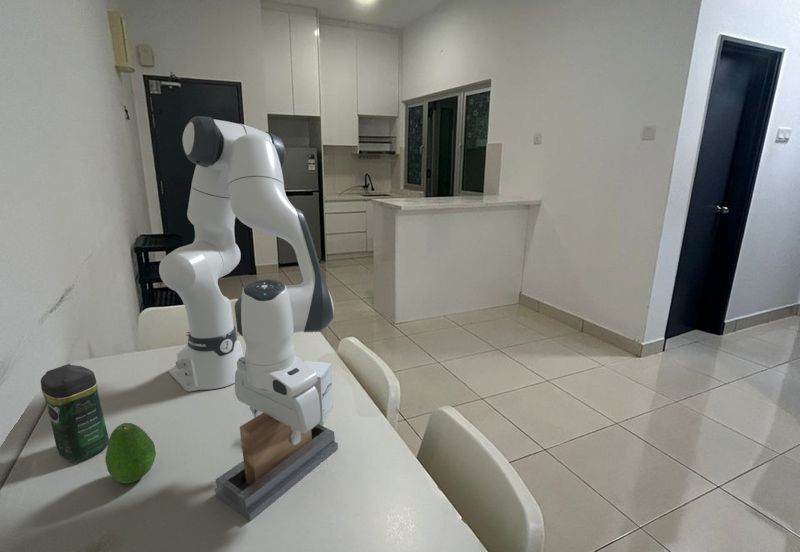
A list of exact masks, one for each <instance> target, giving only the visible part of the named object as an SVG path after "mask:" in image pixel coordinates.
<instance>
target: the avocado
mask: <svg viewBox="0 0 800 552" xmlns="http://www.w3.org/2000/svg"><path fill="white" fill-rule="evenodd" d="M156 454H157V452H156V446H155V443H154V441H153V440H152V438H151V437H150V436H149V435H148V433H147V432H146V431H144V429H142V427H140V426H138V425H136V424H134V423H131V422H124V423H121V424H120V425H118V426H117V427H115V429H114V430H112V432H111V433H110V436H109V443H108V446H107V447H106V453H105V458H104V460H105V465H106V469H107V471H108V473H109V474H110V477H112V479H114V480H115V481H117V482H118V483H123V484H130V483H135V482H136V481H138V480H140V479H142V478H143V477H145V475H146V474H147V473H148V472H150V470H151V468H152V466H154V463H155V459H156Z"/></svg>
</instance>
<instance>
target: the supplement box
mask: <svg viewBox="0 0 800 552" xmlns="http://www.w3.org/2000/svg"><path fill="white" fill-rule="evenodd" d="M302 361H303V362H304V363H305V364H306V365H307V366H308V367H309V368H311V369H312V370H313V371H314V372H315V373H316V374H317V382H316V383H315V384H314V386H315V388H316V389H317V392H318V395H319V403H320V421H319V423H318V424H319V425H321V426H323V425H324V424H325V421H326V420H327V418H328V417H329V415H330V414H331V413H332V410H333V409H334V398H333V397H334V396H333V377H332V376H333V375H332V362H324V361H323V362H322V361H311V360H302Z"/></svg>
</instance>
